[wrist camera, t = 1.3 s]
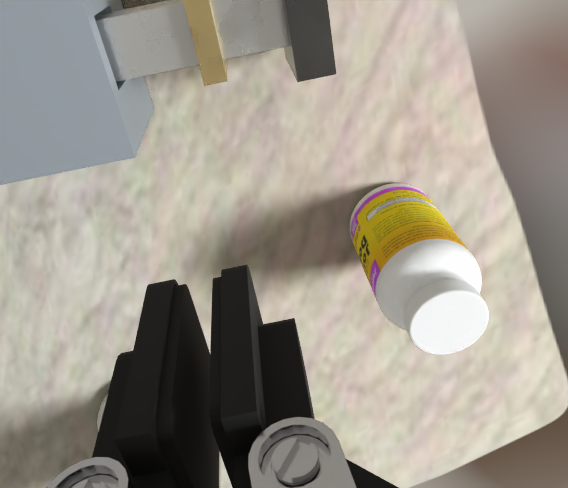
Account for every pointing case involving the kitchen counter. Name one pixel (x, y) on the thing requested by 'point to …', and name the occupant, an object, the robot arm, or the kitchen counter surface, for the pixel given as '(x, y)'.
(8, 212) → the kitchen counter surface
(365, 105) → the kitchen counter surface
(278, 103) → the kitchen counter surface
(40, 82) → the housing
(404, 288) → the supplement bottle
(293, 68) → the shaft
